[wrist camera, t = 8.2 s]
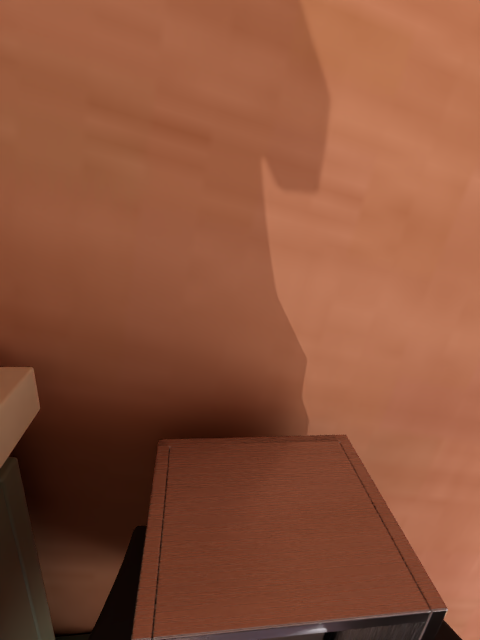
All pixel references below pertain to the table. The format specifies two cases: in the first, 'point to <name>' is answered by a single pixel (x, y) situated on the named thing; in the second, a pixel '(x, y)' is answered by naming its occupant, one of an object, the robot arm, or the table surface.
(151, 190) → the table surface
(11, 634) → the drawer
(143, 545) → the robot arm
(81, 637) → the cabinet
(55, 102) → the table surface
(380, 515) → the brown open box
